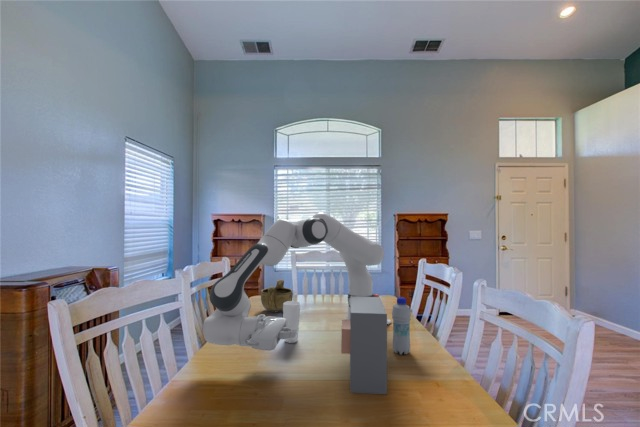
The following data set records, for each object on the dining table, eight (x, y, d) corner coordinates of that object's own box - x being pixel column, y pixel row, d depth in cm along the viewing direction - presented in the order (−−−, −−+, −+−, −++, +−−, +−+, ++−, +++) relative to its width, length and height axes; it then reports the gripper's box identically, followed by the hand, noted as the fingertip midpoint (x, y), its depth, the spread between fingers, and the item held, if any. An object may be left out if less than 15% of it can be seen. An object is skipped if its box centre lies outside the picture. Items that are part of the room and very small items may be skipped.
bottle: (411, 350, 117) (411, 296, 118) (410, 357, 111) (410, 300, 111) (392, 347, 119) (393, 294, 120) (390, 354, 113) (390, 298, 114)
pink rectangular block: (341, 353, 93) (341, 328, 94) (342, 341, 103) (342, 319, 103) (358, 354, 93) (358, 329, 93) (357, 342, 102) (357, 320, 102)
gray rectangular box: (350, 392, 88) (350, 312, 88) (350, 361, 107) (350, 296, 108) (386, 394, 87) (386, 313, 87) (379, 362, 107) (379, 297, 107)
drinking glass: (297, 344, 121) (297, 305, 122) (280, 343, 123) (280, 304, 123) (301, 338, 128) (301, 301, 128) (285, 337, 129) (286, 300, 130)
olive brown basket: (267, 304, 180) (267, 278, 181) (296, 306, 178) (296, 279, 179) (254, 316, 158) (255, 286, 159) (287, 317, 156) (288, 287, 157)
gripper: (242, 332, 90) (290, 334, 89) (262, 312, 111) (301, 314, 109) (242, 355, 90) (289, 357, 89) (261, 331, 110) (300, 332, 109)
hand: (296, 333), depth 99 cm, fingers closed
